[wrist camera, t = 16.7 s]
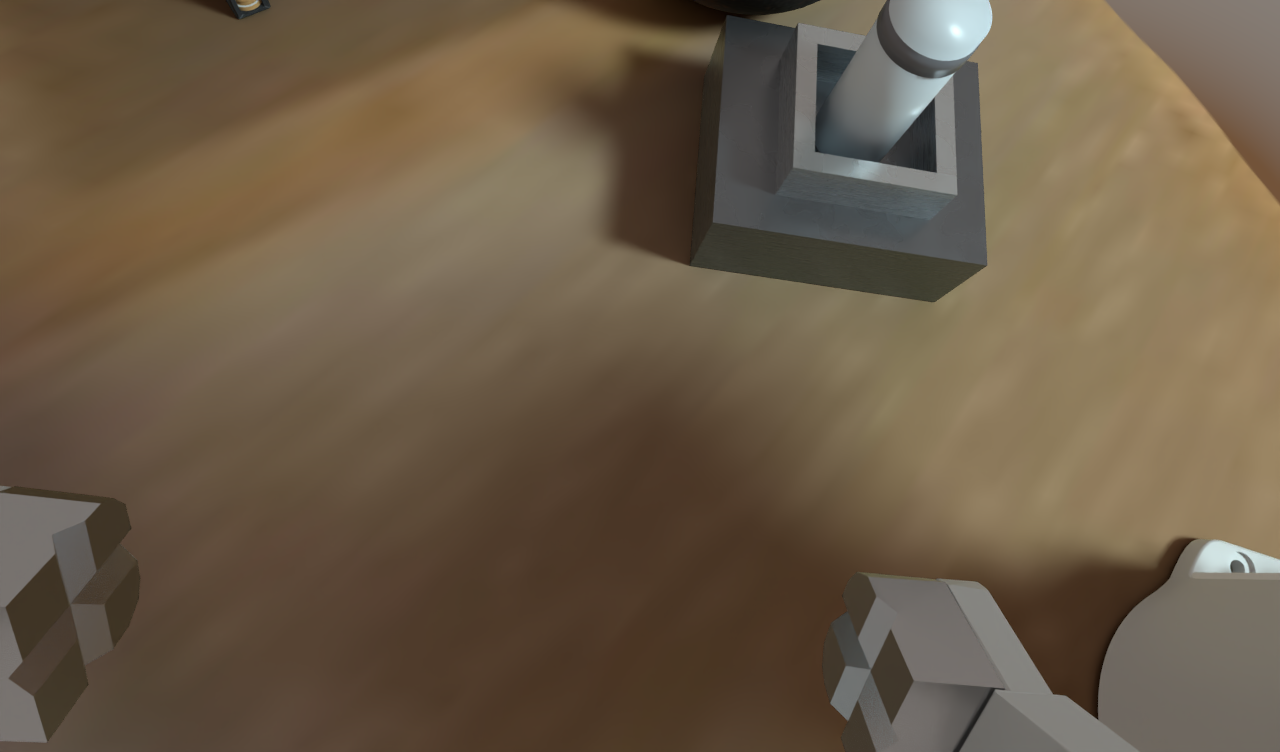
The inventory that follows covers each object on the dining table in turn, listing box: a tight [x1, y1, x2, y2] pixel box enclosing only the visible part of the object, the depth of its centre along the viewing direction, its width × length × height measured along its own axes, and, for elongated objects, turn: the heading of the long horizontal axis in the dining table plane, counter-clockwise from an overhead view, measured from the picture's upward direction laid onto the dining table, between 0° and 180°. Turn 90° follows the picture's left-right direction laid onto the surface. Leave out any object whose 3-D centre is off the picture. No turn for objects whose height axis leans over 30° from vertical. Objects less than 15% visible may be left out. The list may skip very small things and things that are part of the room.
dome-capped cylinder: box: [815, 0, 992, 163], centre depth 34 cm, size 4×4×9 cm
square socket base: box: [690, 15, 987, 302], centre depth 40 cm, size 14×12×8 cm
